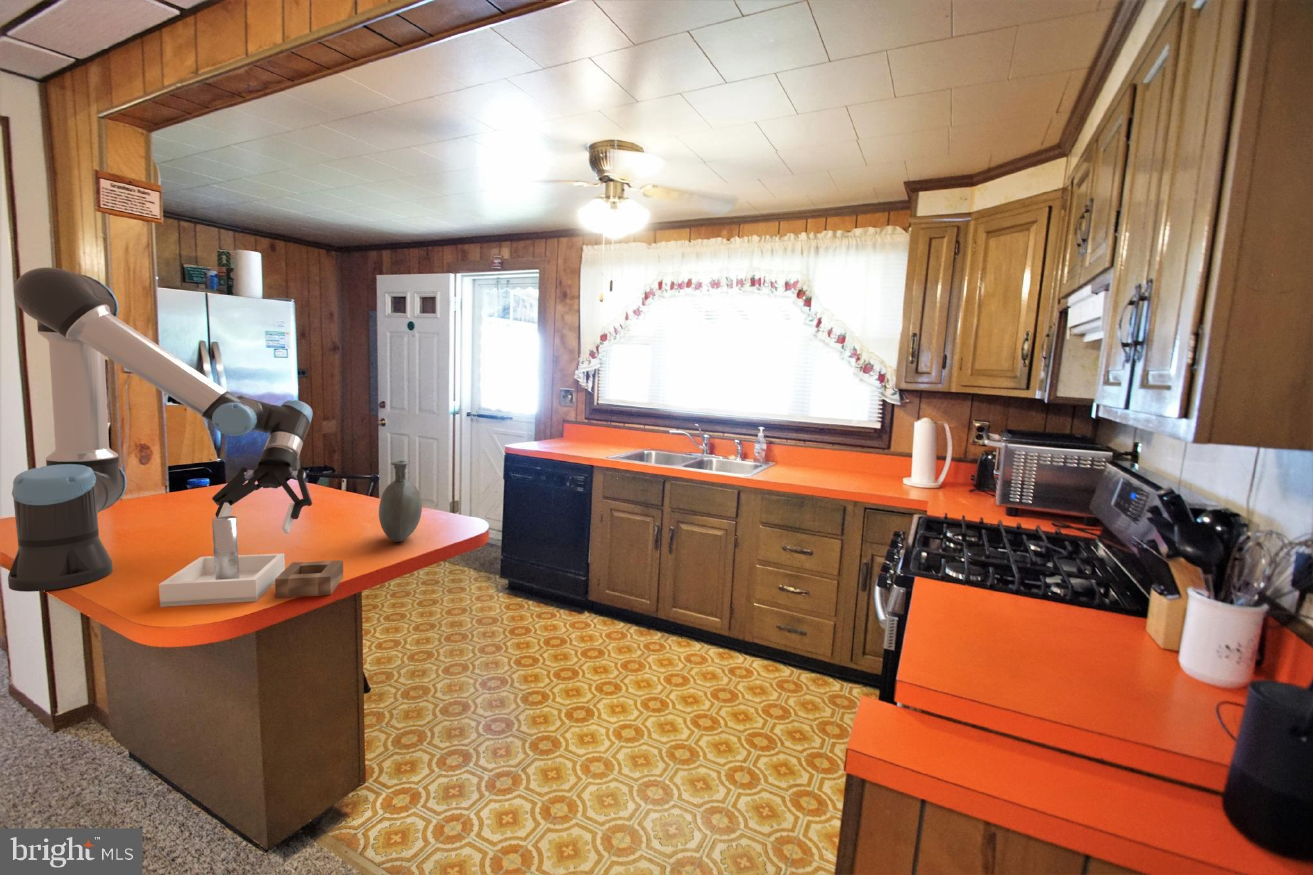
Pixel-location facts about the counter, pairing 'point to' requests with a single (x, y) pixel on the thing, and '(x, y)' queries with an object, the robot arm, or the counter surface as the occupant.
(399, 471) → the flask
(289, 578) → the socket block
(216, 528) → the steel pin
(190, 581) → the tray
